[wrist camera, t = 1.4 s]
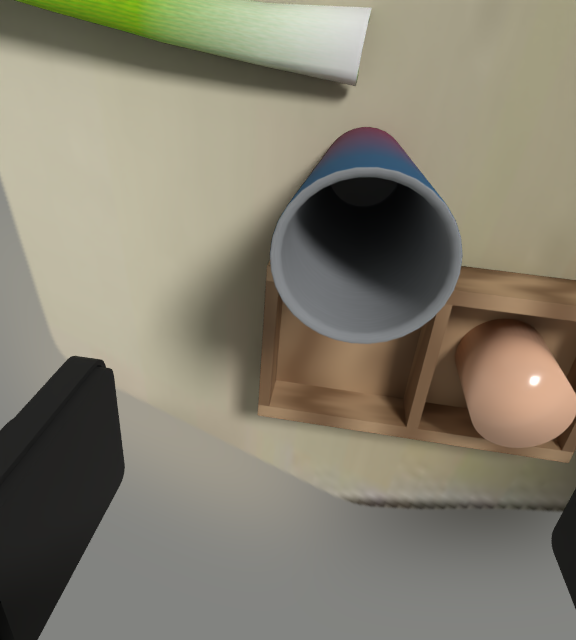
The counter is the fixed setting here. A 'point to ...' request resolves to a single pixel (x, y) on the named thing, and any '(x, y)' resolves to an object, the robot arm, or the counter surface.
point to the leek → (240, 30)
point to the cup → (366, 244)
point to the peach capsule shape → (513, 384)
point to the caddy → (412, 364)
